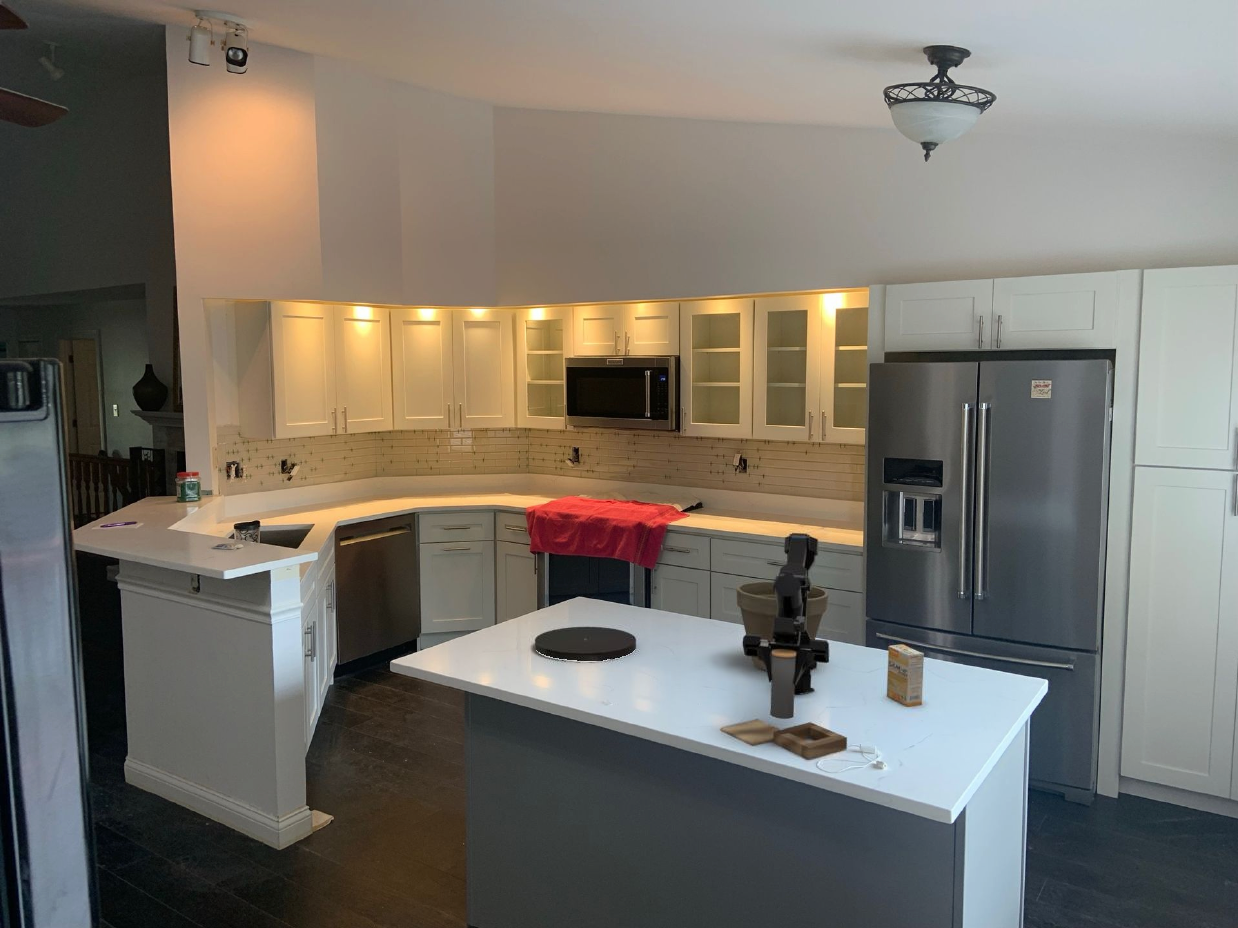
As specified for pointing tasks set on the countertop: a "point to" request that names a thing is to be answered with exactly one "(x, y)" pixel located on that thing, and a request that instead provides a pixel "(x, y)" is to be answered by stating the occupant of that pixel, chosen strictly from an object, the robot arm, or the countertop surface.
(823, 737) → the wooden square frame
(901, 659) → the supplement box
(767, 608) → the plant pot
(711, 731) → the countertop surface
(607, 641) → the disc
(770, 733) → the cork mat
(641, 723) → the countertop surface
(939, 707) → the countertop surface
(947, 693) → the countertop surface
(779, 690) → the plug
